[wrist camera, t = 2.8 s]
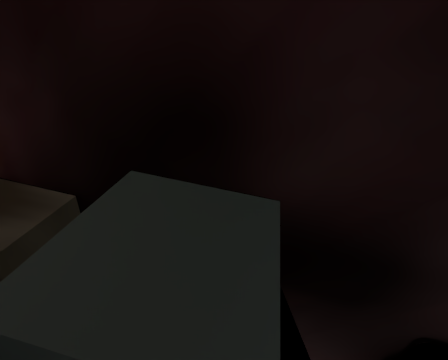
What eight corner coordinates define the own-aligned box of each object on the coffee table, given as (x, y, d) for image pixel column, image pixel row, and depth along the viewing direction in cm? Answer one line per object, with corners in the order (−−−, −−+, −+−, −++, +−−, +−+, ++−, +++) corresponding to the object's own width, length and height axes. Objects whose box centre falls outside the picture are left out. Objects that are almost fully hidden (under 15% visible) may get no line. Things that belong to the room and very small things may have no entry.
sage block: (279, 201, 9) (280, 424, 4) (252, 295, 12) (231, 484, 7) (131, 170, 9) (-44, 319, 4) (142, 267, 12) (49, 419, 7)
